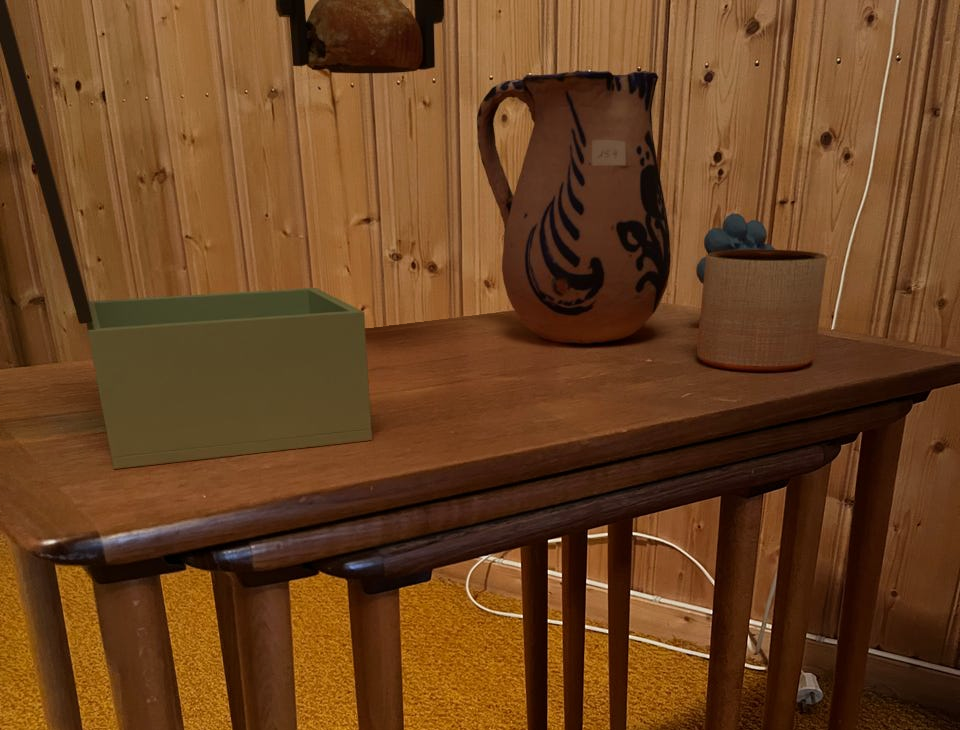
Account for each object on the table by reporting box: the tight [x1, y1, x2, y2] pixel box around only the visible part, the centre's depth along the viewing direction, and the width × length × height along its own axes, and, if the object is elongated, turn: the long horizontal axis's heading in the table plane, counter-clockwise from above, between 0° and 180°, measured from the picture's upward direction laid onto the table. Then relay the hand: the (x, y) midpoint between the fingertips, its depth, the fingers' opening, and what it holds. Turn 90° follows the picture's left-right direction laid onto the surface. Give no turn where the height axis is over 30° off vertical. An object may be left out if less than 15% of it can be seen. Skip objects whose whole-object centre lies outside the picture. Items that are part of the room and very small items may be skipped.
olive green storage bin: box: [85, 287, 373, 470], centre depth 71 cm, size 18×15×9 cm
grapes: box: [696, 212, 776, 285], centre depth 108 cm, size 12×7×12 cm, turn 120°
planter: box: [696, 249, 828, 373], centre depth 91 cm, size 11×11×10 cm
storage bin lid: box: [0, 0, 92, 325], centre depth 62 cm, size 18×15×1 cm
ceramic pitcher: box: [476, 70, 672, 345], centre depth 101 cm, size 18×21×25 cm
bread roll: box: [306, 0, 423, 74], centre depth 81 cm, size 10×10×8 cm
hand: (364, 66), depth 82 cm, fingers closed on bread roll, 10 cm apart
